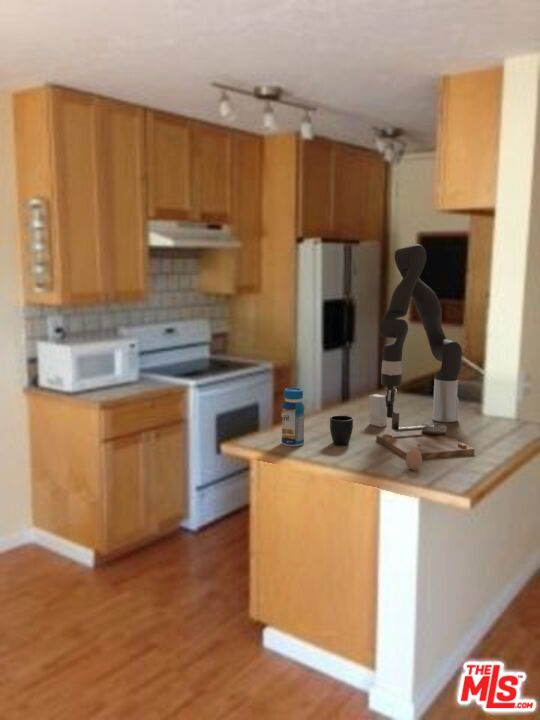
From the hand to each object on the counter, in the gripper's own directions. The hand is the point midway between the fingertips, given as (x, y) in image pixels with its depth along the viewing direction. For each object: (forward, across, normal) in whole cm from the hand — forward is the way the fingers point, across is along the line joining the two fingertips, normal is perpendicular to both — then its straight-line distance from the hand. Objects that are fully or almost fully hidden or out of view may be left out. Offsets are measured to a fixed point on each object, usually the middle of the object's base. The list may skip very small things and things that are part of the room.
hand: (389, 417), depth 254 cm
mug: (+7, +15, -15) cm, 23 cm away
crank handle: (+4, +3, +11) cm, 12 cm away
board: (+7, +13, +14) cm, 20 cm away
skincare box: (+7, -13, -6) cm, 16 cm away
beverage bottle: (+7, +22, -32) cm, 40 cm away
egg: (+7, +40, +12) cm, 42 cm away
